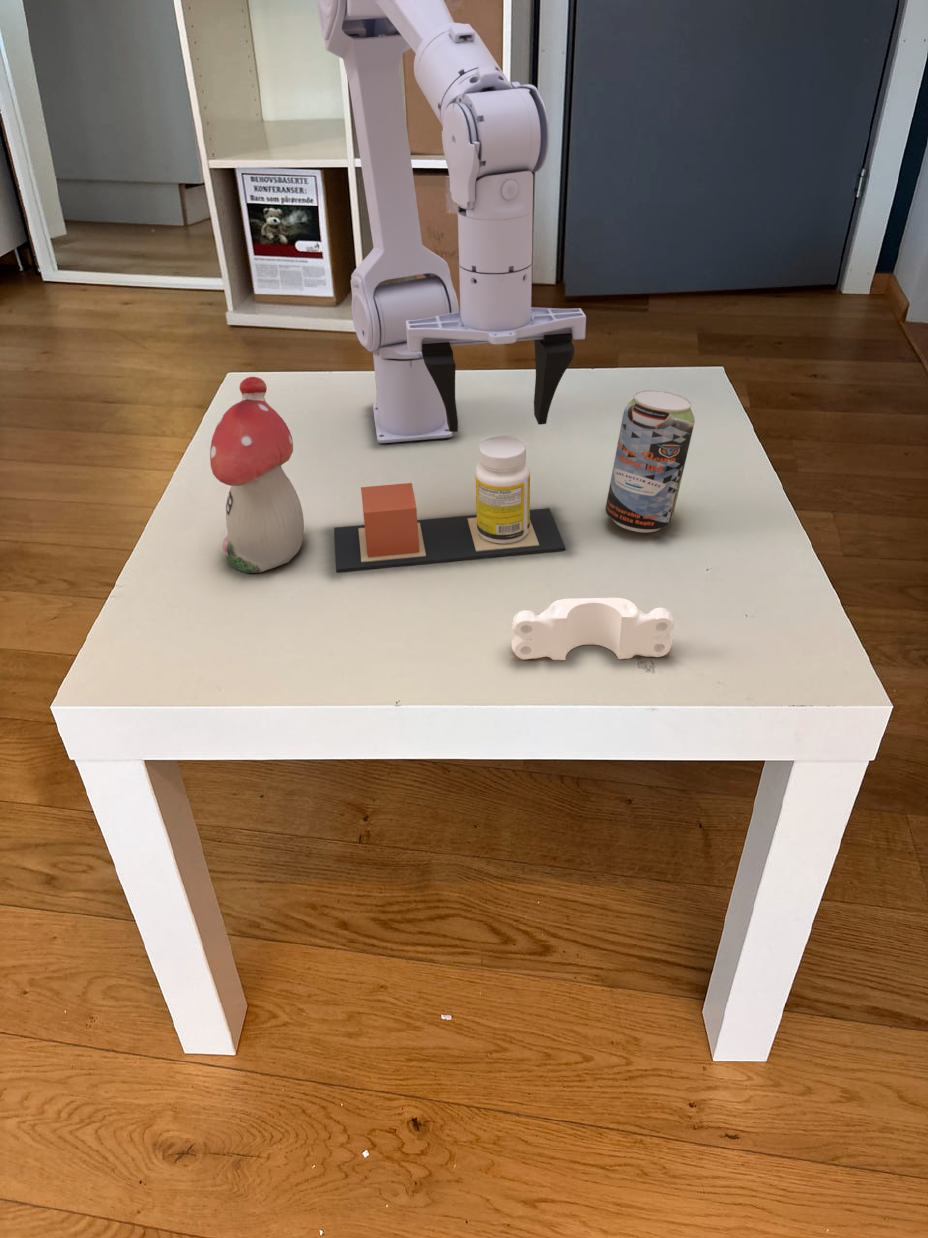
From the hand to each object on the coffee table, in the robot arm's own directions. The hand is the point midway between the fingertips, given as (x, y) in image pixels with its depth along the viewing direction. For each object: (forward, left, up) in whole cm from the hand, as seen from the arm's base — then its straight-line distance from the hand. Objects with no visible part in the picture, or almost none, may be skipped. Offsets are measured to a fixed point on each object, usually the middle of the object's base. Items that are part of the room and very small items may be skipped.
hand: (496, 423), depth 85 cm
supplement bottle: (+3, 0, -9) cm, 10 cm away
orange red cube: (+3, -10, -9) cm, 14 cm away
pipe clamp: (+20, +4, -10) cm, 23 cm away
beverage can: (+3, +13, -10) cm, 17 cm away
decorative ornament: (+2, -21, -10) cm, 23 cm away
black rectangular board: (+3, -5, -10) cm, 11 cm away
